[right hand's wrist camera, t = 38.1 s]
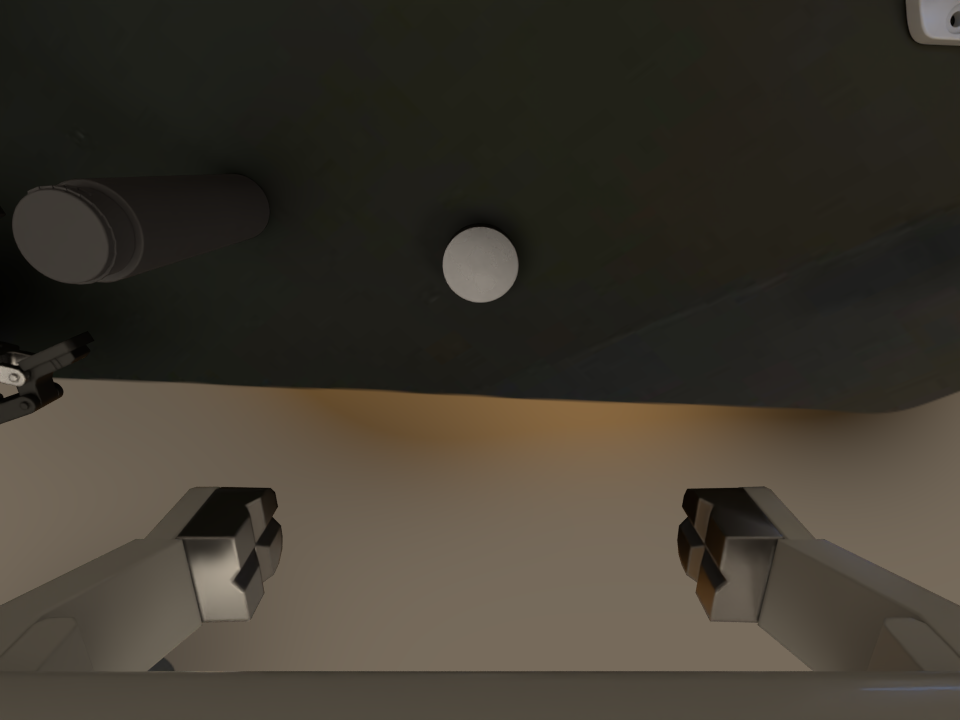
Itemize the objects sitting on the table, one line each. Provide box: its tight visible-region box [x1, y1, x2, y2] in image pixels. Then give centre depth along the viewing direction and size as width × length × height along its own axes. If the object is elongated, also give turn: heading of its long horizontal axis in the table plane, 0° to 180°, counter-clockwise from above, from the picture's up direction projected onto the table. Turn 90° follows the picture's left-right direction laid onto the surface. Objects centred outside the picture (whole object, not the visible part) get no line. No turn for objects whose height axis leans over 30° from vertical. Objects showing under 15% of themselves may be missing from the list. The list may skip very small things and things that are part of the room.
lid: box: [443, 224, 519, 303], centre depth 38 cm, size 5×5×2 cm
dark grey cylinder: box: [12, 174, 270, 285], centre depth 30 cm, size 4×4×17 cm
